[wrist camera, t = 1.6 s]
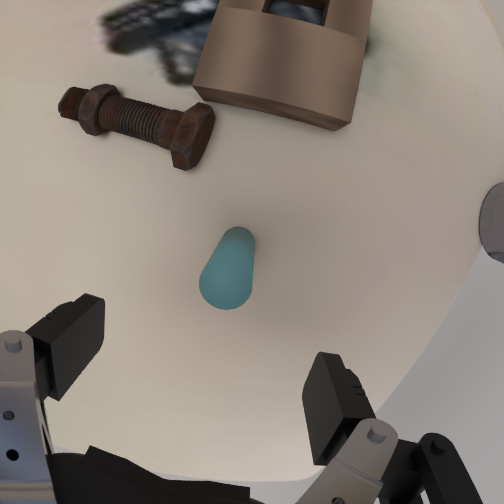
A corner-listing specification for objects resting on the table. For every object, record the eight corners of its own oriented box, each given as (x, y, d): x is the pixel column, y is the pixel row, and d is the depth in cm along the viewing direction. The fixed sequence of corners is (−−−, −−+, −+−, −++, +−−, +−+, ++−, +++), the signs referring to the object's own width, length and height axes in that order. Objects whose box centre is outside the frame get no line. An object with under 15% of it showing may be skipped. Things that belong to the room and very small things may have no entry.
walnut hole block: (364, -26, 21) (378, -49, 16) (335, 131, 25) (350, 122, 21) (255, -52, 20) (254, -79, 15) (203, 100, 25) (192, 85, 20)
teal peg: (258, 231, 28) (257, 266, 17) (250, 262, 29) (245, 314, 18) (225, 223, 28) (204, 254, 17) (218, 255, 28) (195, 302, 18)
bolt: (88, 101, 27) (214, 137, 27) (62, 137, 25) (190, 180, 26) (73, 64, 21) (216, 95, 22) (40, 102, 20) (187, 143, 20)
